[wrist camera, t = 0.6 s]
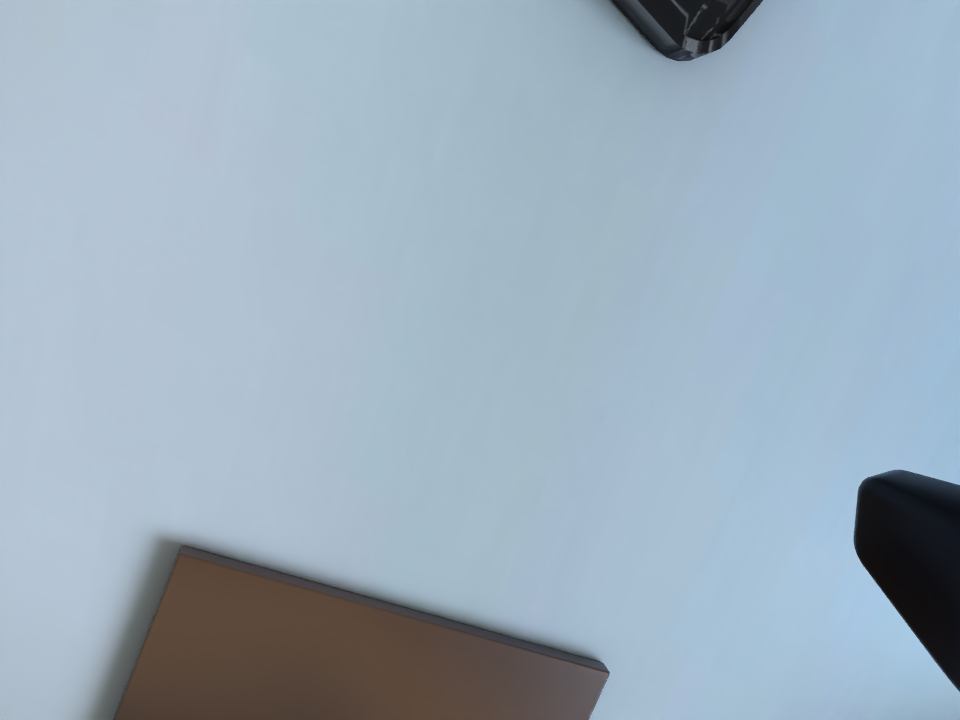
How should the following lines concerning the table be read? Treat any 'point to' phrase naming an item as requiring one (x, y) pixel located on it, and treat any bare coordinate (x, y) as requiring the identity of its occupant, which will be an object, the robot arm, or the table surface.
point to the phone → (687, 23)
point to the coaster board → (334, 657)
